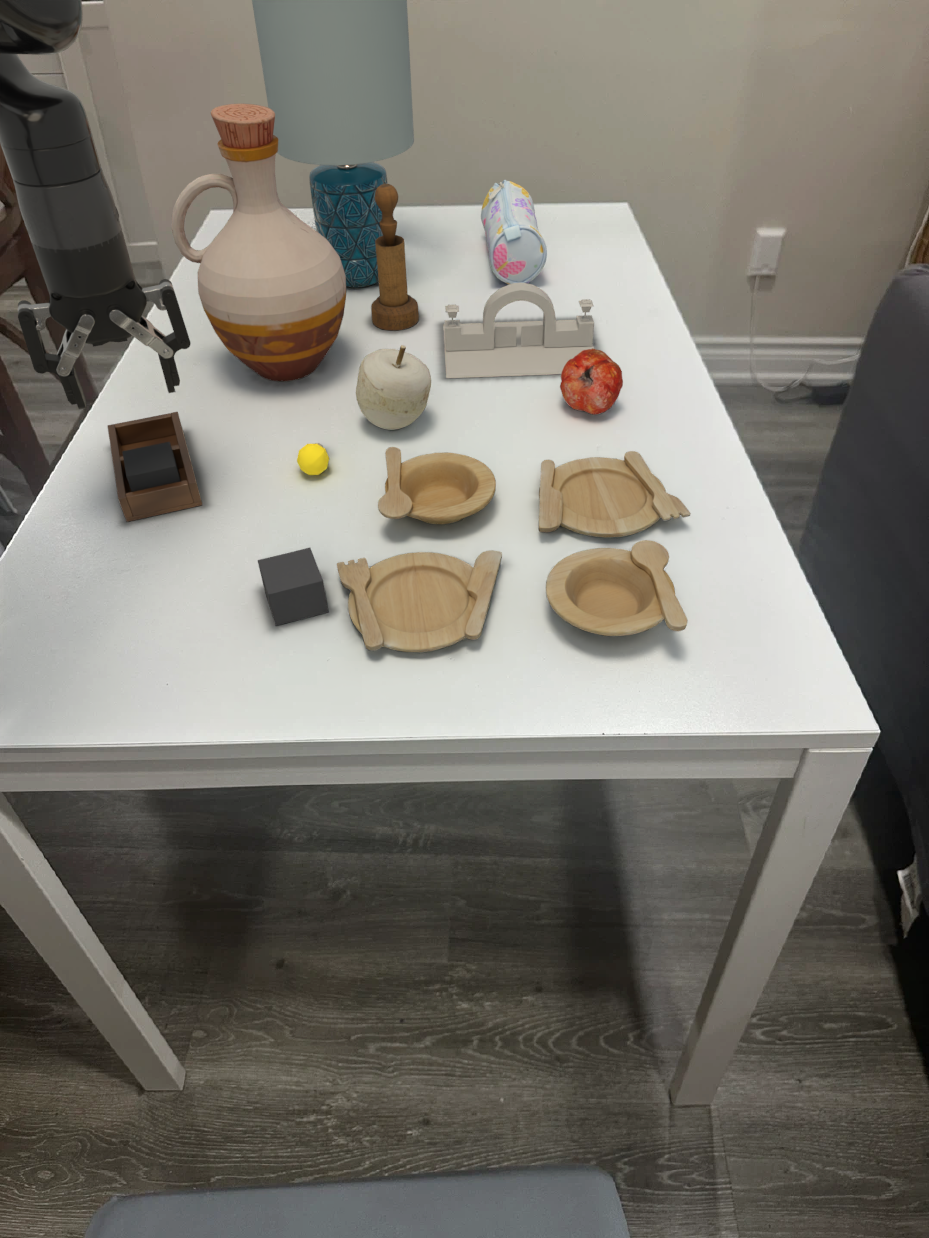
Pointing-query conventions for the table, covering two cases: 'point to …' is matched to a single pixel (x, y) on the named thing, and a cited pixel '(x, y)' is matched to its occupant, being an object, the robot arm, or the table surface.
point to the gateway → (515, 338)
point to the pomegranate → (591, 381)
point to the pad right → (293, 586)
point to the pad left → (150, 466)
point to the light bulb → (313, 459)
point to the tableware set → (460, 594)
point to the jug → (263, 259)
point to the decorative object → (392, 388)
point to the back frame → (160, 496)
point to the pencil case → (512, 234)
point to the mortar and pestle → (391, 270)
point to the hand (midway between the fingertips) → (127, 397)
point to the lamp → (340, 109)
